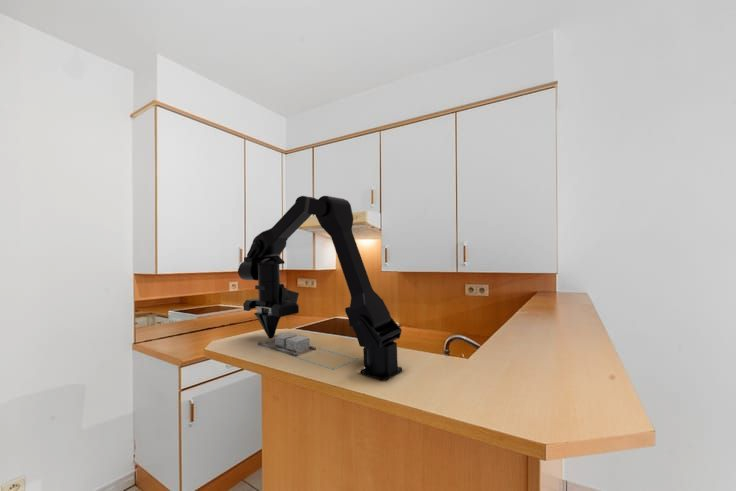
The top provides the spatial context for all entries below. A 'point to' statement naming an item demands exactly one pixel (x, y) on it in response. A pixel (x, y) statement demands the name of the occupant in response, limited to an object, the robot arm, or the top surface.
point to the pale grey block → (283, 340)
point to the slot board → (272, 346)
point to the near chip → (297, 344)
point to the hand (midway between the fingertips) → (271, 338)
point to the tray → (329, 367)
